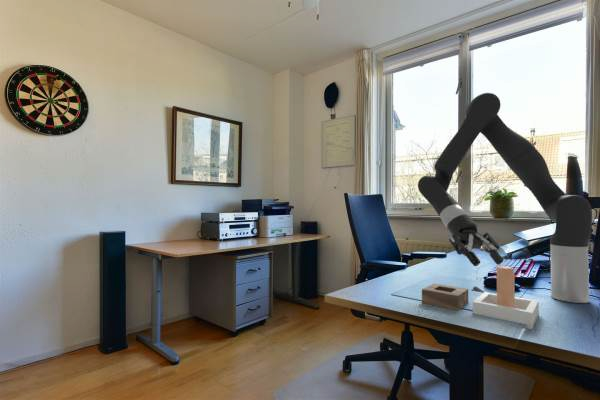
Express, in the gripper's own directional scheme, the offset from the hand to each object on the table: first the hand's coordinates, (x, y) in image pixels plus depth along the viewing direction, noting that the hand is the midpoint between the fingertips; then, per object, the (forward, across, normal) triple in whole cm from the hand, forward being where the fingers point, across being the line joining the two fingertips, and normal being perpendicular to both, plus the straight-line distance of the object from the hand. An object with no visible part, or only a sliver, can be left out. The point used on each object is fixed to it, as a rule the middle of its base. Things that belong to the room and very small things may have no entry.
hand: (489, 263), depth 90 cm
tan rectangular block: (+12, 0, +5) cm, 13 cm away
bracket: (-1, +6, +21) cm, 22 cm away
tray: (+13, 0, +6) cm, 14 cm away
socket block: (+4, -9, +14) cm, 18 cm away
